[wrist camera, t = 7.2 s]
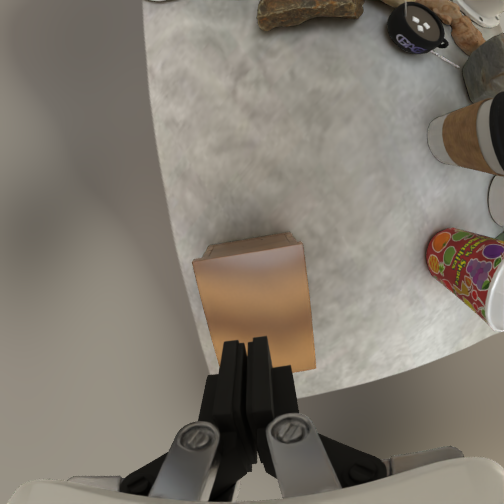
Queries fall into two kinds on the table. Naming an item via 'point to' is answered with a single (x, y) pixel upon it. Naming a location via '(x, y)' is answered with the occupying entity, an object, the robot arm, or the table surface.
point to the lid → (260, 301)
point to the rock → (304, 11)
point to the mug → (416, 29)
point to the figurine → (456, 24)
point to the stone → (485, 70)
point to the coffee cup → (471, 136)
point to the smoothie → (471, 271)
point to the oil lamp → (396, 2)
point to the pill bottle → (497, 200)
